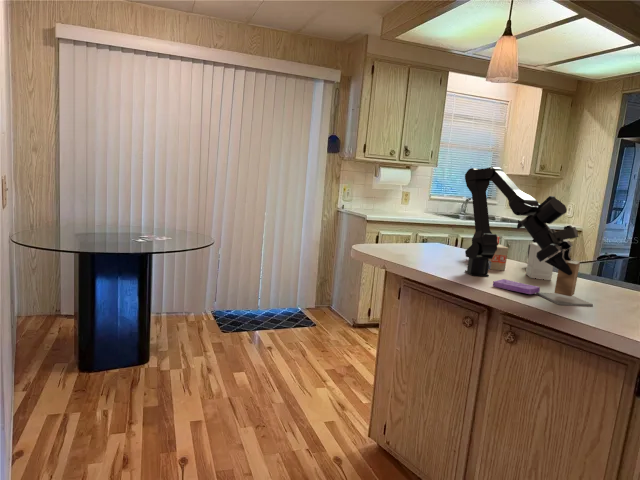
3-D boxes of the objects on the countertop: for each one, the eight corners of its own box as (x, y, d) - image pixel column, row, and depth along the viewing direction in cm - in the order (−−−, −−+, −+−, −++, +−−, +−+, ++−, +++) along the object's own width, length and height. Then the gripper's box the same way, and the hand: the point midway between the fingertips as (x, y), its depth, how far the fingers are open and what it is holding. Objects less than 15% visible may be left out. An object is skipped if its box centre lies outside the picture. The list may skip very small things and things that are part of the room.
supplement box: (551, 280, 163) (557, 247, 161) (530, 278, 164) (535, 244, 162) (545, 276, 170) (551, 244, 168) (525, 273, 172) (530, 241, 170)
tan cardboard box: (505, 270, 175) (509, 240, 173) (489, 269, 175) (494, 239, 173) (484, 259, 196) (488, 232, 194) (470, 258, 196) (474, 231, 194)
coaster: (559, 304, 130) (559, 303, 130) (536, 294, 141) (536, 292, 141) (592, 306, 132) (593, 304, 132) (567, 295, 142) (567, 293, 142)
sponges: (503, 284, 151) (503, 278, 151) (540, 292, 141) (540, 286, 141) (492, 286, 146) (492, 280, 146) (529, 294, 137) (530, 288, 136)
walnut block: (554, 292, 136) (559, 260, 134) (558, 290, 139) (563, 259, 138) (570, 296, 133) (576, 264, 131) (574, 294, 136) (580, 262, 135)
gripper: (554, 217, 128) (591, 262, 122) (570, 215, 142) (604, 255, 136) (522, 239, 134) (555, 283, 129) (540, 235, 148) (571, 275, 143)
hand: (572, 273), depth 134 cm, fingers closed on walnut block, 4 cm apart
